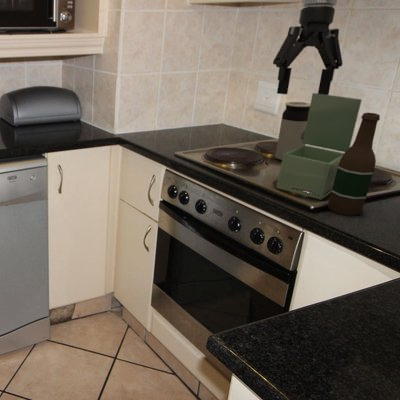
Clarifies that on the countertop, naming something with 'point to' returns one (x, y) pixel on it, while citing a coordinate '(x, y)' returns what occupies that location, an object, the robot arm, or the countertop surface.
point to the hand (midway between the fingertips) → (302, 94)
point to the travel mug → (292, 127)
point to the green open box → (309, 171)
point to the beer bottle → (355, 170)
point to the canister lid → (331, 121)
